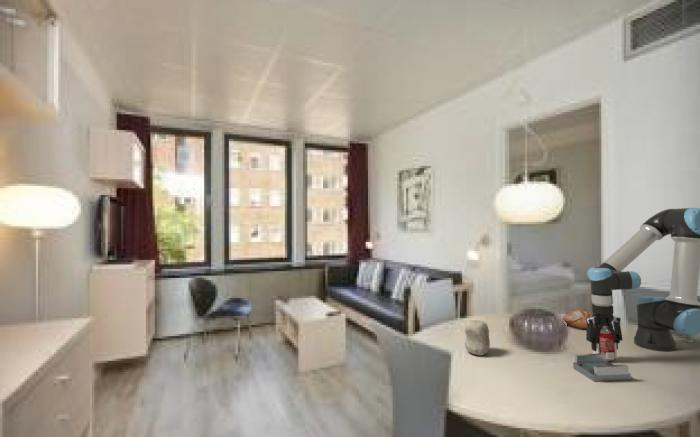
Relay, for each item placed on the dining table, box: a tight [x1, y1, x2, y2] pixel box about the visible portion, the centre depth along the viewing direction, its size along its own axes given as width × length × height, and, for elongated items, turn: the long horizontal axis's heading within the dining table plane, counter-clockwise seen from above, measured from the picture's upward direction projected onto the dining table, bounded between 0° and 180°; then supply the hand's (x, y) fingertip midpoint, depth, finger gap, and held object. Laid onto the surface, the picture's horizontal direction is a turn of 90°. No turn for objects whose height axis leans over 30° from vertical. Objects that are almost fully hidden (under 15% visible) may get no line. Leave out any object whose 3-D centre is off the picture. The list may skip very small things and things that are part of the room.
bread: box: [562, 309, 599, 331], centre depth 200 cm, size 16×20×10 cm
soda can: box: [597, 328, 616, 362], centre depth 153 cm, size 7×7×12 cm
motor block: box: [572, 353, 631, 382], centre depth 140 cm, size 14×13×6 cm
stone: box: [464, 319, 491, 356], centre depth 166 cm, size 11×11×15 cm
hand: (605, 357), depth 153 cm, fingers closed on soda can, 7 cm apart
